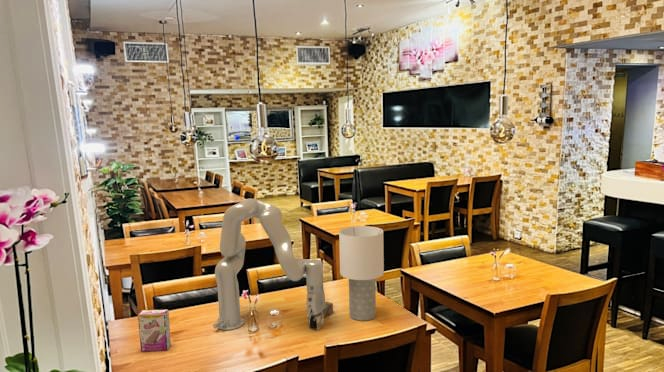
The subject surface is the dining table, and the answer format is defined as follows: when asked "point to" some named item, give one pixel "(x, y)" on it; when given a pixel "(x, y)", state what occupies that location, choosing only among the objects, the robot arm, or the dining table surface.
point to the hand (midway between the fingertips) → (316, 325)
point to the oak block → (318, 320)
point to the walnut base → (328, 309)
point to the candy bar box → (154, 330)
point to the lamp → (361, 267)
